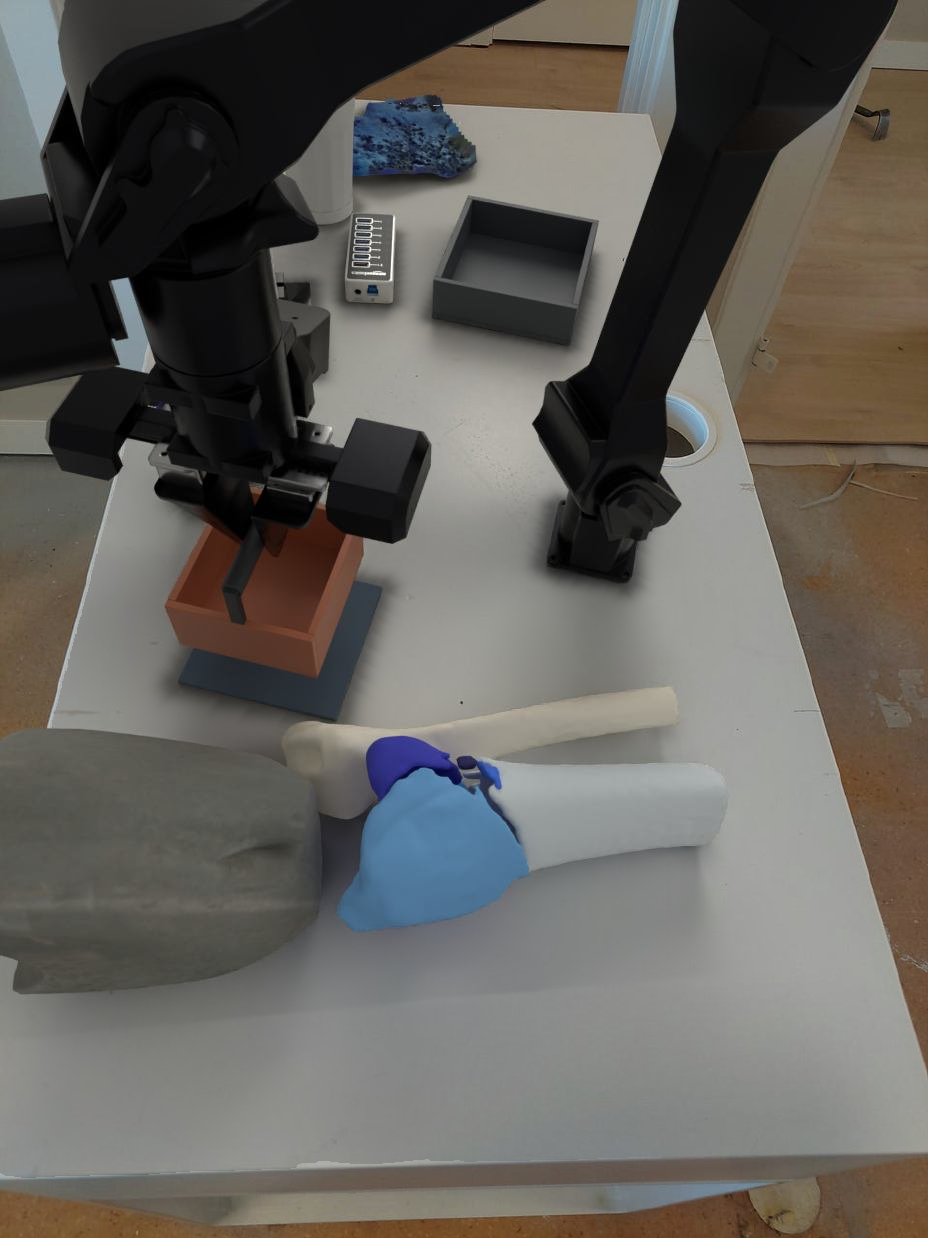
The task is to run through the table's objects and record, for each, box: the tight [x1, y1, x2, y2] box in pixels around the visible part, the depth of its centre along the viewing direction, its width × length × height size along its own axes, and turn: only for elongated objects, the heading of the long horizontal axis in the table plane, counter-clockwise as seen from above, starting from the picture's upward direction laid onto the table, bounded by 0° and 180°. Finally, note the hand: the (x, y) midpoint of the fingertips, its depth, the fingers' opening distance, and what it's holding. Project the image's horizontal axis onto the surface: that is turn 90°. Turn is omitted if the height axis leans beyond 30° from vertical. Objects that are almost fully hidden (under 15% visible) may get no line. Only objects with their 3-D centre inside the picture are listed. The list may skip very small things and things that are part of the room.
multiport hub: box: [344, 212, 397, 304], centre depth 79 cm, size 4×11×2 cm, turn 1°
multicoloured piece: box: [281, 685, 729, 933], centre depth 47 cm, size 13×25×12 cm
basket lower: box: [431, 194, 600, 346], centre depth 78 cm, size 14×13×4 cm
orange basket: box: [163, 486, 365, 678], centre depth 50 cm, size 10×9×8 cm
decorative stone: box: [0, 727, 323, 995], centre depth 41 cm, size 12×17×15 cm
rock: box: [352, 94, 478, 179], centre depth 92 cm, size 15×17×2 cm
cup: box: [285, 96, 356, 226], centre depth 80 cm, size 8×8×12 cm
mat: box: [177, 580, 383, 722], centre depth 57 cm, size 11×11×1 cm
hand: (266, 548), depth 49 cm, fingers closed on orange basket
